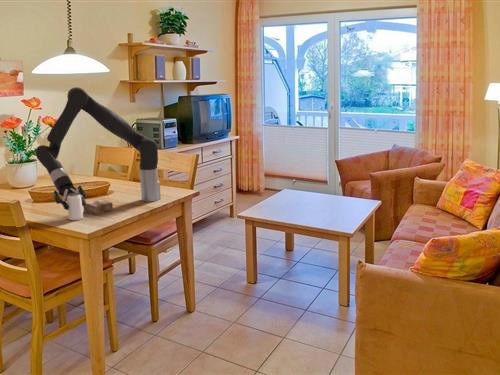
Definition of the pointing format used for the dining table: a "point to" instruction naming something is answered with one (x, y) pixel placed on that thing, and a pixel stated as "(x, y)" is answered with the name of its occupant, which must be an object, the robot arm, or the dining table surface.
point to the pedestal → (98, 207)
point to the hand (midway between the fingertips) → (76, 207)
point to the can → (75, 206)
